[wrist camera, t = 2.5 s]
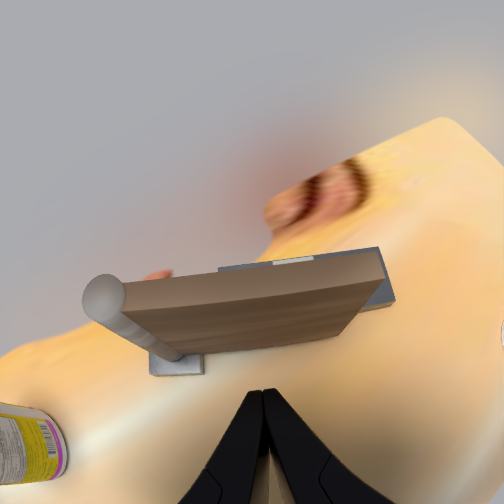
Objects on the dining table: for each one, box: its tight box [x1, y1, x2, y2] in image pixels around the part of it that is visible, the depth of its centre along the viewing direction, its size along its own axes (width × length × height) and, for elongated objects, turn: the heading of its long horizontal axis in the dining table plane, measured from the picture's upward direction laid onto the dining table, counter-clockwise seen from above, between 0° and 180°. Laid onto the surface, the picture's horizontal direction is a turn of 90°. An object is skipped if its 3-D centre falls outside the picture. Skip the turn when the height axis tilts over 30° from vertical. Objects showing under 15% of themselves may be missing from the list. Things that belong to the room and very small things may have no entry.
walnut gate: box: [82, 251, 385, 361], centre depth 14 cm, size 2×12×9 cm, turn 96°
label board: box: [149, 247, 396, 376], centre depth 20 cm, size 8×18×1 cm, turn 97°
